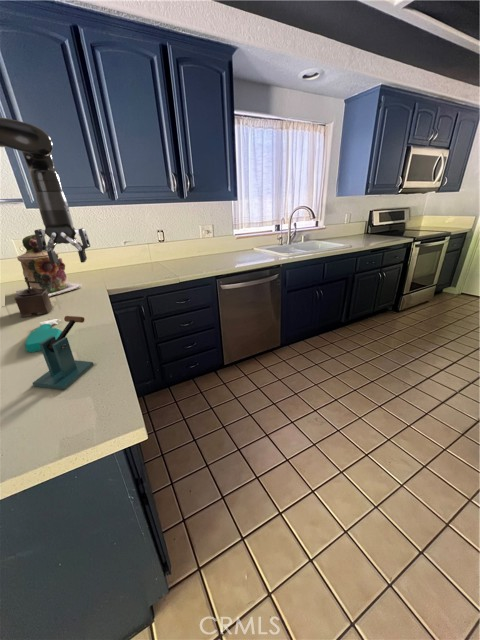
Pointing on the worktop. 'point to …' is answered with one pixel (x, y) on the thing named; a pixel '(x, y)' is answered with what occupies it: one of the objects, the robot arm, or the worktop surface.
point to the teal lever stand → (60, 365)
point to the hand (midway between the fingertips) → (69, 262)
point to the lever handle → (66, 329)
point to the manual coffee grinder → (34, 299)
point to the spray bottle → (41, 335)
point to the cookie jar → (43, 269)
